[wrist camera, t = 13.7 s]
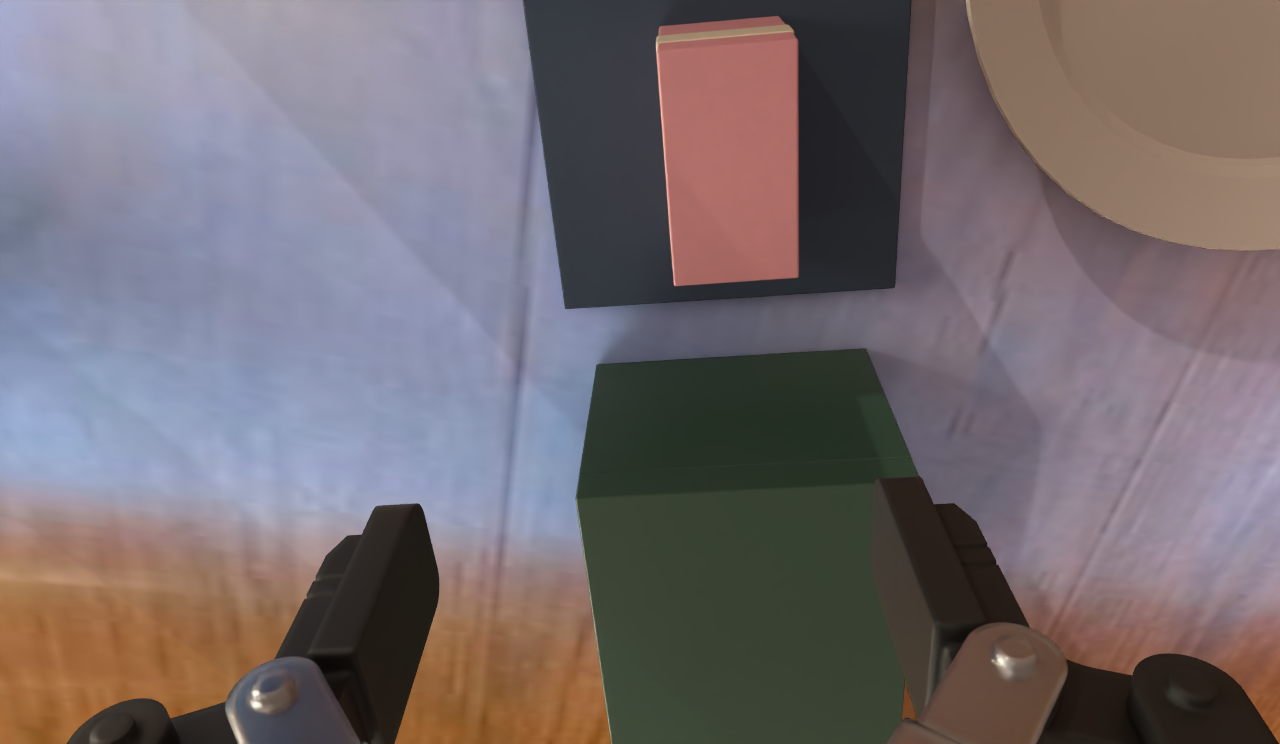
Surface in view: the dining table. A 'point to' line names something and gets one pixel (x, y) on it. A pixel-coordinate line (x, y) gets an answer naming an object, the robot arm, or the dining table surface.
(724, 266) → the block
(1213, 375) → the dining table surface
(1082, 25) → the plate
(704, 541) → the shelf stand
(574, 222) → the mat
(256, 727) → the robot arm
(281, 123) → the dining table surface
